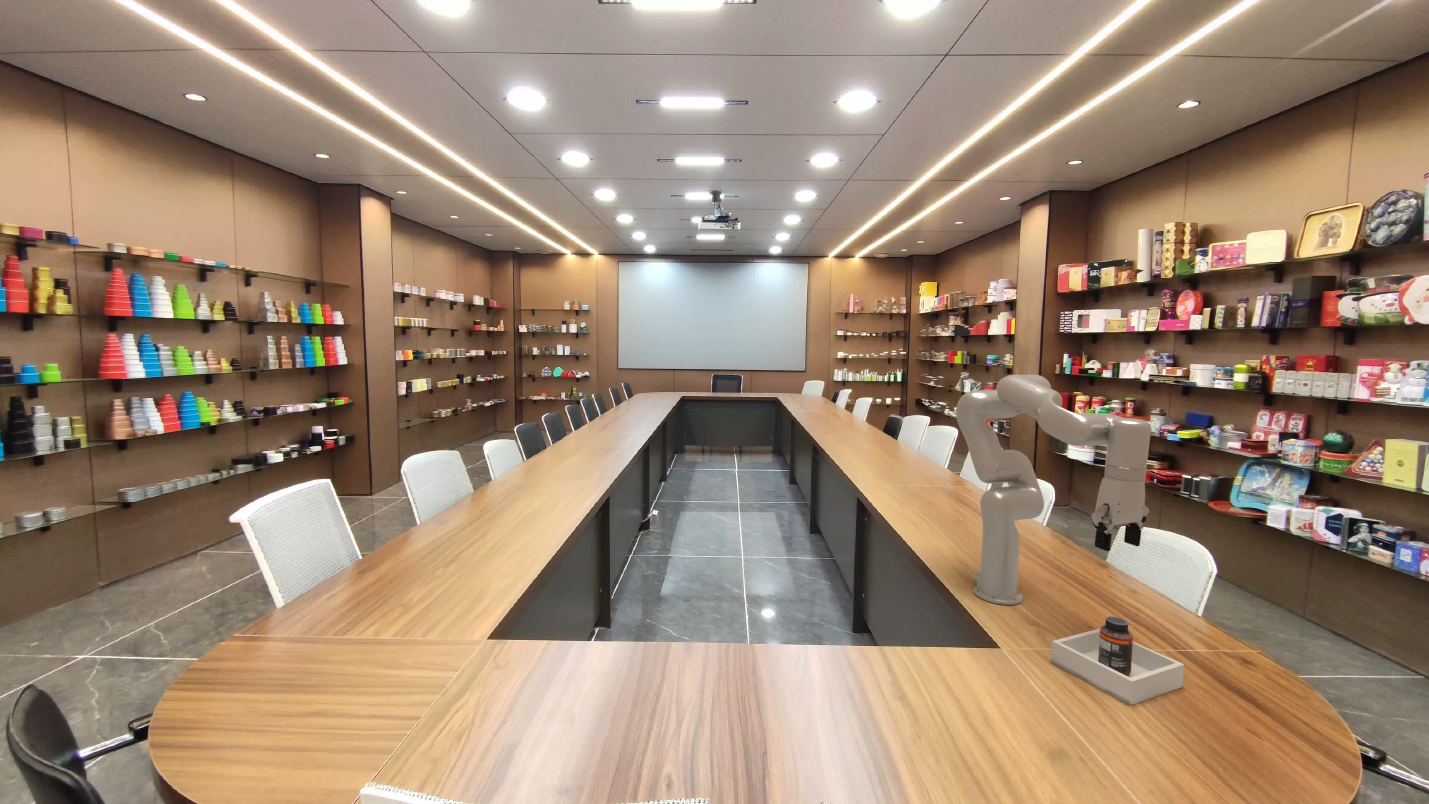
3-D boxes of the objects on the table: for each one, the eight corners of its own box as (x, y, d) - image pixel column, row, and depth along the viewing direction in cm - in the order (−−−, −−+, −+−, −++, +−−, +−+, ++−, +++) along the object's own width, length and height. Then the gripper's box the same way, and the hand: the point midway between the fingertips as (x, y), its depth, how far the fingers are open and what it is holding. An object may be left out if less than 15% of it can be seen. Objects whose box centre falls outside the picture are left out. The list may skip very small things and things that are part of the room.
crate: (1050, 662, 129) (1052, 640, 128) (1100, 648, 135) (1102, 627, 135) (1130, 705, 113) (1132, 681, 113) (1182, 687, 120) (1184, 664, 119)
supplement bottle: (1120, 663, 127) (1123, 614, 126) (1137, 678, 121) (1141, 627, 120) (1091, 661, 128) (1095, 613, 127) (1107, 676, 122) (1111, 625, 121)
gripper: (1133, 467, 135) (1126, 537, 137) (1081, 471, 129) (1074, 544, 131) (1168, 474, 128) (1159, 548, 130) (1115, 480, 122) (1106, 556, 124)
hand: (1117, 546), depth 130 cm, fingers open, 9 cm apart
